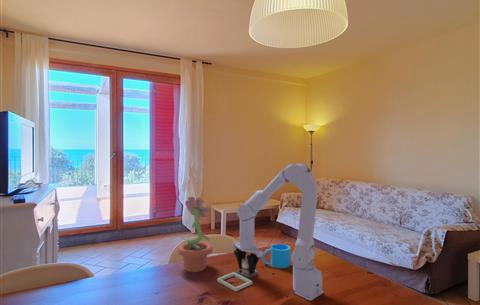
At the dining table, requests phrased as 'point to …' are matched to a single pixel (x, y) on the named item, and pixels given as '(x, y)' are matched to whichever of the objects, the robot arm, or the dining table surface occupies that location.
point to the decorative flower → (196, 239)
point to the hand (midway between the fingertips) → (246, 270)
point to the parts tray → (233, 286)
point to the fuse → (245, 267)
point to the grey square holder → (247, 275)
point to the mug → (279, 256)
